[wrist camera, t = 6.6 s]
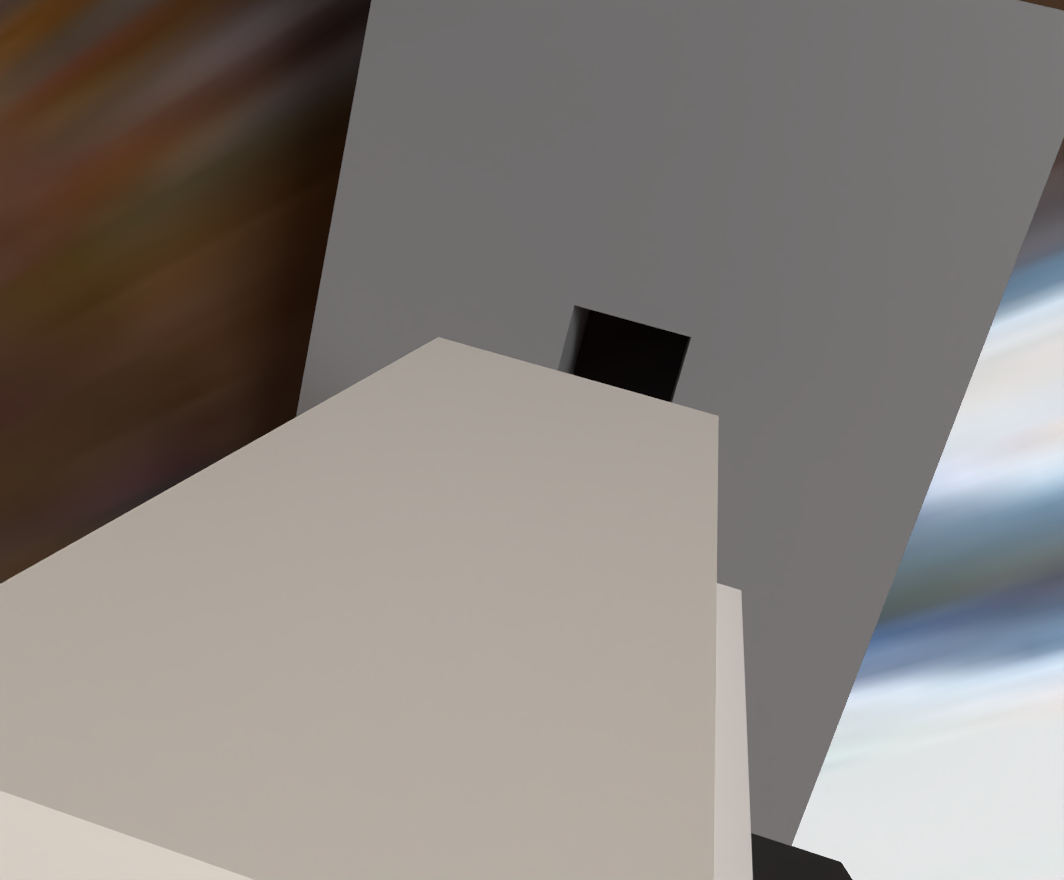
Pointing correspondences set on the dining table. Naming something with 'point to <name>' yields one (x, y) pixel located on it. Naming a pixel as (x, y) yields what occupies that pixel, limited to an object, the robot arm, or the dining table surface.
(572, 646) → the plug
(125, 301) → the dining table surface
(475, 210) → the header
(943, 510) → the dining table surface
